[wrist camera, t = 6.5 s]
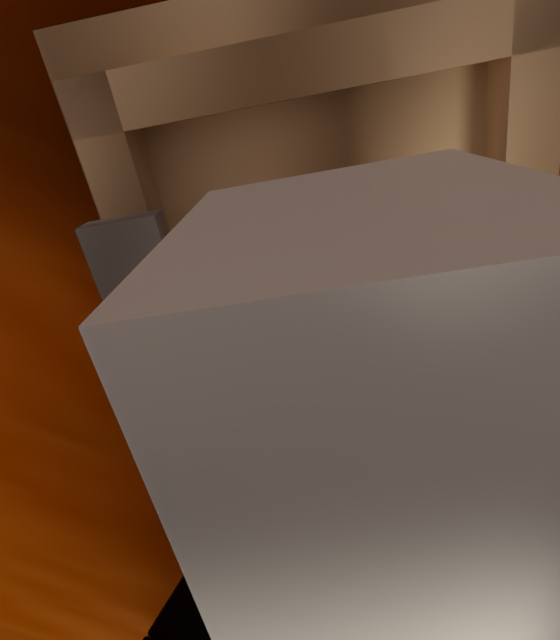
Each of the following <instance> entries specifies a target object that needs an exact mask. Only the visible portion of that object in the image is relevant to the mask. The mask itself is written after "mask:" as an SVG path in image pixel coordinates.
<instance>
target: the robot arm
mask: <svg viewBox="0 0 560 640" xmlns="http://www.w3.org/2000/svg"><path fill="white" fill-rule="evenodd" d="M148 637H149V638H148ZM148 637H147V636H146V637H144V638H143V640H211V638H210V636H209V633H208V631H207V629H206V626H205V624H204V622H203V619H202V617H201V615H200V612H199V610H198V608H197V605H196V603H195V601H194V598H193V596H192V593H191V591H190V589H189V586H188V584H187V582H186V579H185V577H184V575H183V577H182V578H181V580H180V582H179V583H178V585H177V586H176V588H175V590H174V591H173V593H172V594H171V596H170V598H169V599H168V601H167V602H166V604H165V605H164V607H163V609H162V610H161V612H160V613H159V615H158V617H157V618H156V620H155V621H154V623H153V625H152V626H151V628H150V629H149V631H148Z"/></svg>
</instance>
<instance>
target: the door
mask: <svg viewBox="0 0 560 640" xmlns="http://www.w3.org/2000/svg"><path fill="white" fill-rule="evenodd" d="M78 329H79V331H80V334H81V336H82V338H83V341H84V343H85V346H86V348H87V350H88V353H89V355H90V357H91V360H92V362H93V364H94V367H95V369H96V371H97V374H98V376H99V378H100V381H101V383H102V385H103V388H104V390H105V392H106V395H107V397H108V399H109V402H110V404H111V406H112V409H113V411H114V413H115V416H116V418H117V420H118V423H119V425H120V427H121V430H122V432H123V434H124V437H125V439H126V441H127V444H128V446H129V448H130V451H131V453H132V455H133V458H134V460H135V462H136V465H137V467H138V469H139V472H140V474H141V477H142V479H143V481H144V484H145V486H146V488H147V491H148V493H149V495H150V498H151V500H152V502H153V505H154V507H155V509H156V512H157V514H158V516H159V519H160V521H161V523H162V526H163V528H164V530H165V533H166V535H167V537H168V540H169V542H170V544H171V547H172V549H173V551H174V554H175V556H176V558H177V561H178V563H179V565H180V568H181V570H182V572H183V575H184V577H185V579H186V582H187V584H188V586H189V589H190V591H191V593H192V596H193V598H194V601H195V603H196V605H197V608H198V610H199V612H200V615H201V617H202V619H203V622H204V624H205V626H206V629H207V631H208V633H209V636H210V638H211V640H560V176H557V175H553V174H550V173H546V172H542V171H538V170H534V169H530V168H526V167H522V166H518V165H514V164H510V163H506V162H503V161H499V160H495V159H491V158H487V157H483V156H479V155H475V154H471V153H467V152H463V151H459V150H456V149H452V148H451V149H446V150H440V151H434V152H429V153H423V154H417V155H412V156H406V157H400V158H395V159H389V160H383V161H378V162H372V163H366V164H361V165H355V166H349V167H344V168H338V169H332V170H327V171H321V172H315V173H310V174H304V175H298V176H293V177H287V178H281V179H276V180H270V181H264V182H259V183H253V184H247V185H242V186H236V187H230V188H225V189H219V190H213V191H209V192H208V193H207V194H206V195H205V196H204V197H203V198H202V199H201V200H200V201H199V202H198V203H197V204H196V205H195V206H194V207H193V208H192V210H191V211H190V212H189V213H188V214H187V215H186V216H185V217H184V218H183V219H182V220H181V221H180V222H179V223H178V224H177V225H176V226H175V227H174V228H173V229H172V230H171V231H170V232H169V233H168V234H167V235H166V236H165V237H164V239H163V240H162V241H161V242H160V243H159V244H158V245H157V246H156V247H155V248H154V249H153V250H152V251H151V252H150V253H149V254H148V255H147V256H146V257H145V258H144V259H143V260H142V261H141V262H140V263H139V264H138V265H137V266H136V267H135V269H134V270H133V271H132V272H131V273H130V274H129V275H128V276H127V277H126V278H125V279H124V280H123V281H122V282H121V283H120V284H119V285H118V286H117V287H116V288H115V289H114V290H113V291H112V292H111V293H110V294H109V295H108V296H107V297H106V299H105V300H104V301H103V302H102V303H101V304H100V305H99V306H98V307H97V308H96V309H95V310H94V311H93V312H92V313H91V314H90V315H89V316H88V317H87V318H86V319H85V320H84V321H83V322H82V323H81V324H80V325H79V326H78Z"/></svg>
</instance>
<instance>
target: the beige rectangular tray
mask: <svg viewBox="0 0 560 640" xmlns="http://www.w3.org/2000/svg"><path fill="white" fill-rule="evenodd" d="M33 33H34V36H35V39H36V41H37V44H38V47H39V50H40V53H41V55H42V58H43V61H44V64H45V67H46V69H47V72H48V75H49V78H50V81H51V83H52V86H53V89H54V92H55V94H56V97H57V100H58V103H59V106H60V108H61V111H62V114H63V117H64V120H65V122H66V125H67V128H68V131H69V134H70V136H71V139H72V142H73V145H74V148H75V150H76V153H77V156H78V159H79V161H80V164H81V167H82V170H83V173H84V175H85V178H86V181H87V184H88V187H89V189H90V192H91V195H92V198H93V201H94V203H95V206H96V209H97V212H98V215H99V217H100V220H96V221H90V222H87V223H85V224H83V225H81V226H80V227H78V228H76V229H74V230H75V232H76V235H77V237H78V240H79V242H80V245H81V248H82V250H83V253H84V255H85V258H86V260H87V263H88V266H89V268H90V271H91V273H92V276H93V278H94V281H95V284H96V286H97V289H98V291H99V294H100V296H101V299H102V302H103V301H104V300H105V299H106V297H107V296H108V295H109V294H110V293H111V292H112V291H113V290H114V289H115V288H116V287H117V286H118V285H119V284H120V283H121V282H122V281H123V280H124V279H125V278H126V277H127V276H128V275H129V274H130V273H131V272H132V271H133V270H134V269H135V267H136V266H137V265H138V264H139V263H140V262H141V261H142V260H143V259H144V258H145V257H146V256H147V255H148V254H149V253H150V252H151V251H152V250H153V249H154V248H155V247H156V246H157V245H158V244H159V243H160V242H161V241H162V240H163V239H164V237H165V236H166V235H167V234H168V233H169V232H170V231H171V230H172V229H173V228H174V227H175V226H176V225H177V224H178V223H179V222H180V221H181V220H182V219H183V218H184V217H185V216H186V215H187V214H188V213H189V212H190V211H191V210H192V208H193V207H194V206H195V205H196V204H197V203H198V202H199V201H200V200H201V199H202V198H203V197H204V196H205V195H206V194H207V193H208V192H209V191H213V190H219V189H225V188H230V187H236V186H242V185H247V184H253V183H259V182H264V181H270V180H276V179H281V178H287V177H293V176H298V175H304V174H310V173H315V172H321V171H327V170H332V169H338V168H344V167H349V166H355V165H361V164H366V163H372V162H378V161H383V160H389V159H395V158H400V157H406V156H412V155H417V154H423V153H429V152H434V151H440V150H446V149H451V148H452V149H456V150H459V151H463V152H467V153H471V154H475V155H479V156H483V157H487V158H491V159H495V160H499V161H503V162H506V163H510V164H514V165H518V166H522V167H526V168H530V169H534V170H538V171H542V172H546V173H550V174H553V175H557V176H558V175H559V165H560V0H168V1H163V2H159V3H154V4H150V5H145V6H141V7H136V8H132V9H127V10H123V11H118V12H114V13H109V14H105V15H100V16H96V17H91V18H87V19H82V20H78V21H73V22H69V23H64V24H60V25H55V26H51V27H46V28H42V29H37V30H33Z"/></svg>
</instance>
